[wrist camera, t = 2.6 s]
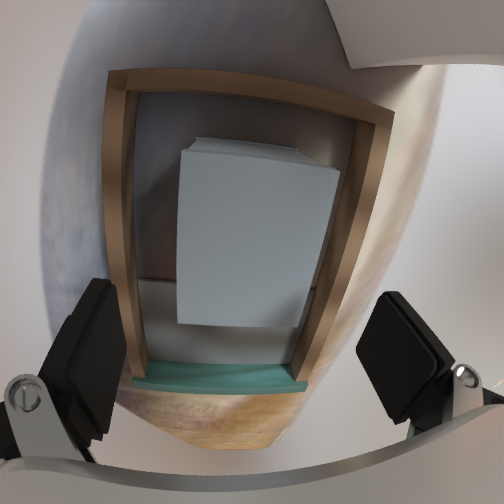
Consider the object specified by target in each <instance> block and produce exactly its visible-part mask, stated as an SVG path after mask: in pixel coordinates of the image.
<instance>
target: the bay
mask: <svg viewBox="0 0 504 504" xmlns="http://www.w3.org/2000/svg"><path fill="white" fill-rule="evenodd" d="M148 92H167V93H195V94H210V95H222V96H232V97H241V98H249V99H256V100H263V101H269V102H275V103H281V104H286V105H292V106H297V107H302V108H306V109H311V110H315V111H320V112H324V113H328V114H332V115H336V116H340V117H343V118H347V119H351V120H354V121H357V124H356V129H355V135H354V140H353V145H352V150H351V154H350V159H349V164H348V168H347V173H346V177H345V182H344V186H343V190H342V194H341V198H340V202H339V206H338V210H337V214H336V218H335V222H334V226H333V230H332V233H331V237H330V241H329V244H328V248H327V251H326V255H325V258H324V262H323V265H322V268H321V272H320V275H319V278H318V282H317V285H316V288H310V290H309V293H308V296H307V299H306V303H305V306H304V309H303V312H302V315H301V318H300V321H299V324H298V327H238V326H213V325H195V324H181V323H178V319H177V281H166V280H153V279H141V278H139V279H137V268H136V256H135V240H134V215H133V167H134V143H135V127H136V115H137V104H138V95H139V93H148ZM394 114H395V112H394V111H392V110H389V109H386V108H384V107H381V106H378V105H376V104H373V103H370V102H367V101H364V100H361V99H358V98H355V97H352V96H348V95H345V94H342V93H338V92H335V91H331V90H327V89H324V88H320V87H316V86H312V85H307V84H303V83H299V82H294V81H289V80H284V79H279V78H273V77H267V76H261V75H254V74H247V73H239V72H231V71H220V70H208V69H189V68H143V69H125V70H113V71H109V72H108V80H107V88H106V97H105V108H104V121H103V141H102V191H103V211H104V225H105V236H106V246H107V255H108V263H109V270H110V277H111V283H112V284H115V285H116V289H117V295H118V302H119V308H120V313H121V319H122V324H123V329H124V334H125V339H126V344H127V351H126V354H127V358H128V362H129V366H130V369H131V373H132V376H133V378H132V383H133V386H134V388H139V389H147V390H155V391H165V392H177V393H192V394H217V395H254V394H278V393H293V392H305V390H306V388H307V386H308V383H307V380H308V378H309V376H310V373H311V371H312V369H313V367H314V365H315V363H316V361H317V359H318V356H319V354H320V352H321V350H322V347H323V345H324V343H325V341H326V338H327V336H328V334H329V331H330V329H331V327H332V324H333V322H334V319H335V317H336V314H337V312H338V309H339V307H340V304H341V302H342V299H343V297H344V294H345V291H346V289H347V286H348V283H349V281H350V278H351V275H352V272H353V269H354V267H355V264H356V261H357V258H358V255H359V252H360V249H361V246H362V243H363V240H364V236H365V233H366V230H367V227H368V223H369V220H370V217H371V213H372V210H373V206H374V202H375V199H376V195H377V191H378V188H379V184H380V180H381V176H382V172H383V167H384V163H385V159H386V154H387V150H388V145H389V140H390V135H391V130H392V125H393V119H394ZM138 288H139V289H138ZM139 297H140V298H139ZM140 305H141V306H140ZM141 313H142V314H141ZM142 320H143V321H142ZM143 327H144V328H143ZM144 333H145V334H144ZM145 339H146V340H145ZM146 345H147V346H146ZM147 351H148V352H147Z"/></svg>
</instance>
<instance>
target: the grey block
mask: <svg viewBox="0 0 504 504" xmlns="http://www.w3.org/2000/svg"><path fill="white" fill-rule="evenodd" d="M339 175H340V171H339V170H337V169H335V168H333V167H328V166H324V165H322V164H320V163H318V162H317V161H315V160H313V159H311V158H309V157H307V156H306V155H304V154H302V153H300V152H298V149H296V148H293V147H287V146H280V145H274V144H267V143H259V142H252V141H243V140H234V139H224V138H213V137H200V136H196V137H195V142H194V143H193V144H192V145H191V146H190V148H189V149H183V150H182V152H181V165H180V179H179V196H178V219H177V319H178V323H181V324H195V325H213V326H238V327H298V324H299V321H300V318H301V315H302V312H303V309H304V306H305V303H306V299H307V296H308V293H309V290H310V286H311V283H312V279H313V276H314V273H315V269H316V266H317V262H318V259H319V255H320V252H321V248H322V244H323V240H324V237H325V233H326V229H327V225H328V221H329V217H330V213H331V209H332V205H333V201H334V197H335V193H336V189H337V184H338V180H339Z"/></svg>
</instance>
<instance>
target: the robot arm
mask: <svg viewBox="0 0 504 504" xmlns="http://www.w3.org/2000/svg"><path fill="white" fill-rule="evenodd" d="M126 351H127V344H126V339H125V334H124V329H123V324H122V319H121V313H120V308H119V302H118V295H117V289H116V285H115V284H111V281H110V280H109V279H100V278H93V279H92V280H91V282H90V283H89V285H88V287H87V288H86V290H85V292H84V293H83V295H82V297H81V298H80V300H79V302H78V304H77V305H76V307H75V309H74V311H73V312H72V314H71V315H69V316H68V317H67V318H66V320H65V322H64V323H63V325H62V327H61V329H60V331H59V333H58V335H57V336H56V338H55V340H54V342H53V344H52V346H51V348H50V350H49V352H48V354H47V356H46V359H45V361H44V363H43V365H42V367H41V369H40V371H39V374H38V376H35V375H33V374H22V375H18V376H17V377H15V378H13V379H12V380H11V381H10V382H9V383H8V385H7V387H6V389H5V393H4V401H3V402H1V403H0V504H504V397H503V396H501V395H499V394H496V393H494V392H492V391H490V390H487V389H485V388H483V387H482V382H481V378H480V376H479V374H478V373H477V372H476V370H475V369H473V368H472V367H471V366H468V365H466V364H458V365H457V366H456V367H455V368H454V369H453V371H452V370H451V369H450V368H451V367H452V365H453V364H454V363H455V359H454V358H453V357H452V355H451V354H450V353H449V351H448V350H447V349H446V348H445V346H444V345H443V344H442V342H441V341H440V340H439V339H438V337H437V336H436V335H435V334H434V332H433V331H432V330H431V329H430V328H429V327H428V325H427V324H426V323H425V322H424V320H423V319H422V318H421V317H420V316H419V315H418V313H417V312H416V311H415V310H414V309H413V307H412V306H411V305H410V304H409V303H408V302H407V301H406V299H405V298H404V297H403V296H402V295H401V294H400V293H399V292H397V291H386V292H384V293H383V294H382V295H381V296H380V297H379V298H378V300H377V303H376V305H375V307H374V309H373V312H372V314H371V316H370V319H369V321H368V323H367V325H366V327H365V329H364V331H363V334H362V336H361V338H360V340H359V342H358V344H357V346H356V353H357V356H358V358H359V360H360V362H361V363H362V365H363V367H364V369H365V371H366V373H367V375H368V377H369V379H370V381H371V383H372V385H373V387H374V389H375V391H376V392H377V394H378V396H379V398H380V400H381V402H382V404H383V406H384V408H385V410H386V412H387V414H388V416H389V417H390V418H391V419H392V420H393V422H394V424H395V425H397V424H400V423H403V422H405V421H406V420H407V419H408V418H410V420H411V422H410V425H409V429H408V433H407V438H406V440H404V441H401V442H398V443H396V444H393V445H390V446H387V447H384V448H382V449H379V450H375V451H372V452H369V453H365V454H362V455H359V456H355V457H351V458H348V459H344V460H340V461H336V462H331V463H327V464H322V465H317V466H312V467H306V468H301V469H294V470H288V471H280V472H272V473H263V474H250V475H231V476H230V475H229V476H197V475H178V474H163V473H153V472H145V471H137V470H130V469H124V468H118V467H113V466H107V465H101V464H98V462H97V460H96V459H95V457H94V456H93V454H92V452H91V451H90V449H89V447H90V445H91V440H92V439H95V440H99V441H102V438H103V433H104V434H107V433H108V431H109V427H110V422H111V416H112V411H113V406H114V402H115V397H116V393H117V388H118V384H119V380H120V376H121V372H122V368H123V364H124V360H125V356H126Z"/></svg>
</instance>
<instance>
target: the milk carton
mask: <svg viewBox="0 0 504 504" xmlns="http://www.w3.org/2000/svg"><path fill="white" fill-rule="evenodd" d="M325 1H326V3H327V6H328V8H329V10H330V13H331V15H332V18H333V20H334V23H335V25H336V28H337V31H338V33H339V36H340V39H341V42H342V45H343V48H344V50H345V53H346V56H347V59H348V62H349V65H350V68H352V69H359V68H369V67H380V66H396V65H433V64H490V65H504V0H325Z"/></svg>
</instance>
